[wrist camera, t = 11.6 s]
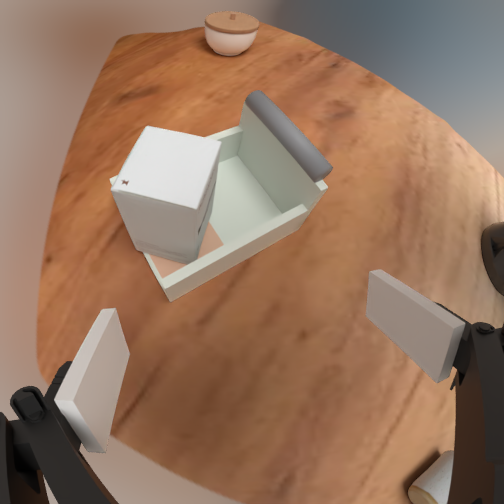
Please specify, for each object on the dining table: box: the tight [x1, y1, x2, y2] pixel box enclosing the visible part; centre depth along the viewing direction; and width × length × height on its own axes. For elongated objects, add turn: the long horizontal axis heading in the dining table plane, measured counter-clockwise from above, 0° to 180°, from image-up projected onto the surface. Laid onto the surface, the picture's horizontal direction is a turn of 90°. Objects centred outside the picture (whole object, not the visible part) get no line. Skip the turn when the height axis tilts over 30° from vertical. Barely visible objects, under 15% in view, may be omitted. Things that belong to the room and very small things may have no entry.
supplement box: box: [111, 126, 222, 265], centre depth 28 cm, size 7×7×13 cm
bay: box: [110, 90, 333, 302], centre depth 30 cm, size 19×14×12 cm
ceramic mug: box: [408, 451, 454, 504], centre depth 23 cm, size 11×8×8 cm
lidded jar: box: [205, 11, 259, 56], centre depth 47 cm, size 11×11×9 cm
